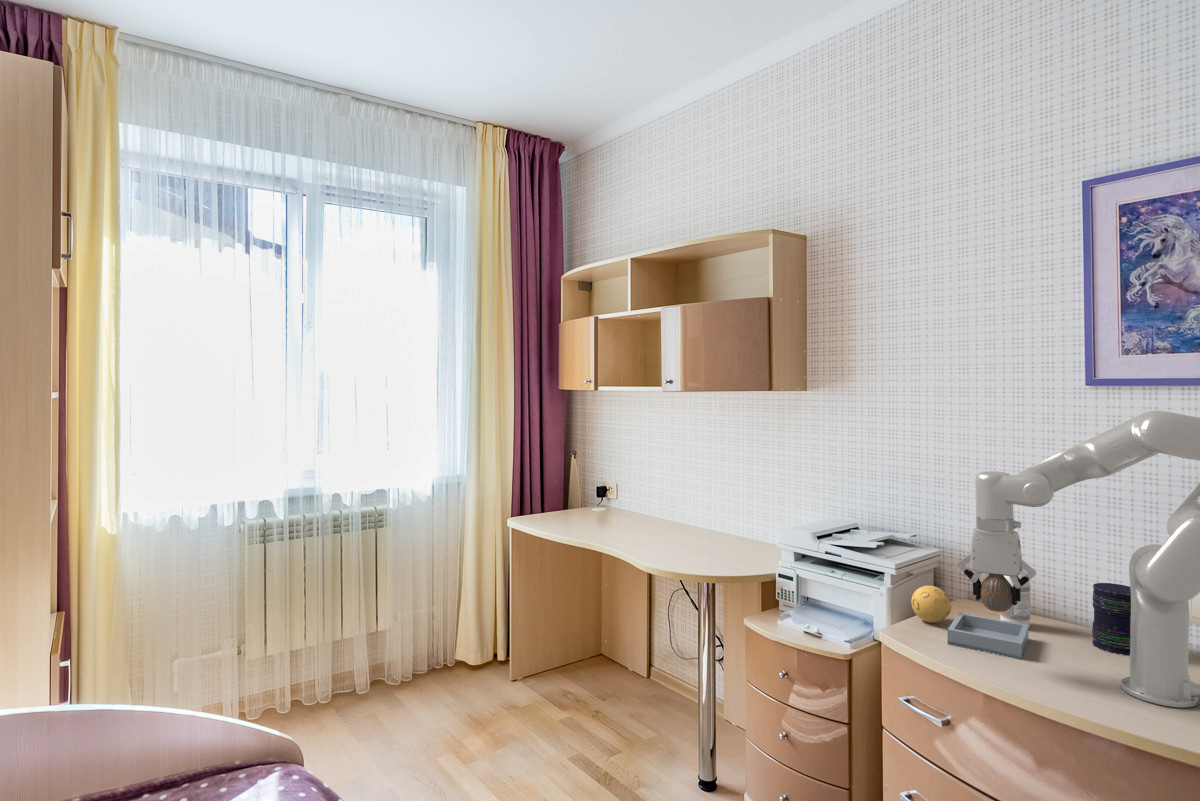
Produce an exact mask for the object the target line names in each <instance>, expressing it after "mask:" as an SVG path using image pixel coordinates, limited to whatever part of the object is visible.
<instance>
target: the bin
mask: <svg viewBox="0 0 1200 801" xmlns="http://www.w3.org/2000/svg"><path fill="white" fill-rule="evenodd" d="M1029 628H1030V627H1029V625H1025V624H1020V623H1014V622H1009V621H1003V620H1000V619H998V618H991V617H987V616H981V615H980V616H979V615H975V614H970V613H963V612H958V614H957V616H956V617H955V618H954V619H953V620H952V623H951V624H950V625H949V626H948V628H947V645H949V644H950V646H954V645H955V646H954V647H960V648H963V647H964V649H968V648H969V650H973V649H974V651H978V650H980V651H979V652H983V651H986V652H985V653H987V652H990V653H989V654H992V653H995V654H994V655H997V654H999V655H998V656H1002V655H1004V656H1003V657H1006V656H1008V658H1012V659H1016V660H1021V661H1022V660H1023V657H1024V653H1025V650H1026V648H1027V645H1028V642H1029Z"/></svg>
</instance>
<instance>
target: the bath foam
mask: <svg viewBox="0 0 1200 801" xmlns="http://www.w3.org/2000/svg"><path fill="white" fill-rule="evenodd" d="M1021 556H1022V557H1023V554H1022V553H1021ZM1026 574H1027V572H1026V571H1025V570H1024V569H1023V568H1022V571H1020V574H1019V575H1018V577H1019V578H1020V579H1021V578H1022V577H1023V576H1025V575H1026ZM1004 577H1005V578H1006V579H1007V580H1008V582H1009V583H1010V584H1011V586H1012V588H1013V585H1014V584H1013V582H1012V580H1011V579H1010V577H1009V576H1004ZM1030 580H1031V579H1030ZM1030 580H1029V581H1028V582H1027V583H1025V584H1024V585H1023V586H1021V587H1020V593H1021V600H1020V601H1018V602H1017V605H1012V607H1011V608H1010V609H1009V610H1008V611H1005V612H999V614H1000V615H999V616H1000V619H999V620H1003V621H1009V622H1014V623H1020V624H1025V625H1029V628H1030V627H1031V581H1030Z"/></svg>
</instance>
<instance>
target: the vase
mask: <svg viewBox="0 0 1200 801" xmlns="http://www.w3.org/2000/svg"><path fill="white" fill-rule="evenodd" d="M980 597H981V598H980V600H981V602H982V604H983V606H984V607H985V608H987V610H989V611H993V612H997V613H1000V612H1005V611H1008V610H1009V609H1010V608H1011V607H1012V605H1013V604H1012V586H1011V584H1010V583H1009V582H1008V580H1007V579H1006V578H1005V577H1004V575H996V574H988V575H987V576H986V577H985V578H984V579H983V581H981V587H980Z"/></svg>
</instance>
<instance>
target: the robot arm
mask: <svg viewBox="0 0 1200 801" xmlns="http://www.w3.org/2000/svg"><path fill="white" fill-rule="evenodd" d="M1158 454H1163V455H1167V456H1173V457H1177V458H1181V459H1182V458H1183V459H1188V460H1192V461H1193V460H1194V461H1198V462H1200V417H1198V416H1192V415H1187V414H1181V413H1175V412H1171V411H1166V410H1150V411H1146V412H1144V413H1141V414H1139V415H1137V416H1134V417H1132V418H1130V419H1128V420H1127V421H1125V422H1122V423H1120V424H1117V425H1116V426H1114V427H1112V428H1110V429H1108V430H1106V431H1104V432H1101V433H1099V434H1098V435H1097V434H1096V435H1095V436H1094V437H1091V438H1089V439H1087V440H1084V441H1082V442H1080V443H1078V444H1076V445H1074V446H1072V447H1070V448H1068V449H1066V450H1064V451H1062V452H1059V453H1056V454H1055V455H1051V456H1050V457H1048V458H1046V459H1044V460H1040V461H1039V462H1037V463H1035V464H1033V465H1031V466H1029V467H1026V468H1025V469H1023V470H1022V471H1019V473H1017V474H1010V473H1007V472H1004V471H1003V472H1002V471H993V470H991V471H980V472H977V474H976V475H975V482H974V483H975V484H974V485H975V520H976V522H975V523H976V526H975V527H974V528H973V530H972V535H971V542H970V554H968V555H967V556H966V557H964V558H963V559H961V560H960V561H958V563H957V565H956V566H957V567H958V568H959V569H960V570H961V571H962V572H963V574H964V575H965V576H966V577H968V578H969V580H970V581H971V583H972V595H973V596H975V600H976V601H980V600H981V597H980V587H981V584H982V581H981V580H980V577H981V575H982V574H988V575H989V574H996V575H1004V576H1009V577H1010V579H1011V580H1012V582H1013V584H1014V585H1013V588H1012V604H1013V605H1017V602H1018V601H1020V600H1021V593H1020V587H1021V586H1023V585H1024V584H1025V583H1027V582H1028V581H1029V580H1031V579H1033V578H1035V576H1036V575H1037V571H1036V570H1035V569H1034V568H1033V567H1032V566H1030V565H1029V564H1028V563H1027V562H1026V561H1025V560H1023V555H1022V556H1021V554H1022V546H1021V541H1020V536H1019V532H1018V531H1017V530H1015V529H1021V528H1022V522H1021V521H1017V520H1015V517H1014V505H1017V506H1023V507H1028V508H1029V507H1030V508H1039V507H1043V506H1046V505H1048V504H1049V503H1050V502H1051V501H1052V499H1053V497H1054V493H1056V492H1058V491H1060V490H1063V489H1065V488H1067V487H1069V486H1072V485H1075V484H1077V483H1080V482H1083V481H1086V480H1087V481H1088V480H1093V479H1101V478H1104V477H1109V476H1111V475H1115V474H1116V473H1118V472H1121V471H1123V470H1125V469H1127V468H1130V467H1131V466H1133V465H1135V464H1138V463H1140V462H1142V461H1145V460H1147V459H1149V458H1152V457H1154V456H1156V455H1158ZM1166 531H1167V534H1168V536H1169V537H1168V538H1167V539H1166V540H1165V542H1163V544H1156V543H1155V544H1147V545H1142V546H1141V547H1139V548H1138V549H1136V550H1135V551H1134V553H1132V555H1131V557H1130V559H1129V566H1128V574H1129V576H1128V577H1129V586H1130V589H1131V622H1130V656H1129V676H1127V677H1124V678H1121V680H1120V687H1121V689H1122V690H1123V691H1124V692H1125V693H1127V694H1129V695H1131V696H1132V697H1134V698H1137V699H1139V700H1142V701H1145V702H1149V703H1152V704H1155V705H1160V706H1164V707H1170V708H1179V709H1180V708H1181V709H1184V708H1187V709H1188V708H1192V707H1195V706H1197V705H1198V704H1199V697H1200V684H1199V683H1195V682H1194V681H1192V680H1191V678H1190V674H1189V652H1190V649H1189V648H1190V645H1189V644H1190V603H1189V601H1190V600H1192V599H1194V598H1195V597H1197V596H1198V595H1199V594H1200V482H1199V483H1198V484H1197V486H1196V487H1195V489H1194V490H1192V492H1191V493H1190V494H1189V495H1188V496H1187V498H1185V500H1184V501H1182V503H1181V504H1180V506H1178V507H1177V509H1176V510H1175V511H1173V513H1172V514H1171V515H1170V516H1169V518H1168V520H1167V522H1166ZM968 564H970V568H969V567H968ZM1022 568H1023V569H1024V571H1025V572H1026V575H1025V576H1023V577H1022V578H1021V579H1020V578H1019V577H1018V575H1019V574H1020V571H1022ZM973 571H974V572H973Z"/></svg>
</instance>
